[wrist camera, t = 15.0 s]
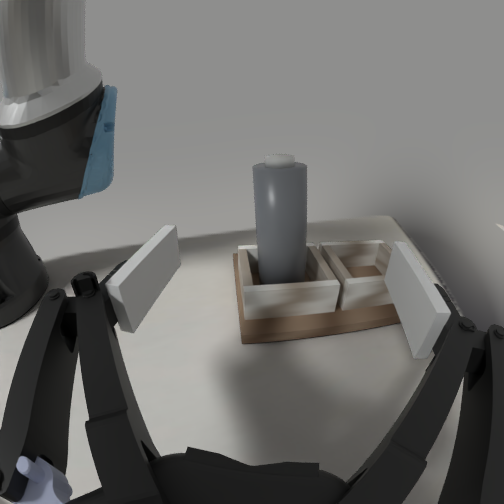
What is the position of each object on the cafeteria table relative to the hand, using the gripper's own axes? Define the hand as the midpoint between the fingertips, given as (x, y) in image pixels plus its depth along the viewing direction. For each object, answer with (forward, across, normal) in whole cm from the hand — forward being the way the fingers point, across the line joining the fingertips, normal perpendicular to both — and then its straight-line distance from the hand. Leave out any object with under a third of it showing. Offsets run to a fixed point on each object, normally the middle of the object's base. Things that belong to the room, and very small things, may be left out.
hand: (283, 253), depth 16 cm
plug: (+8, 0, -8) cm, 12 cm away
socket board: (+11, +4, -10) cm, 15 cm away
